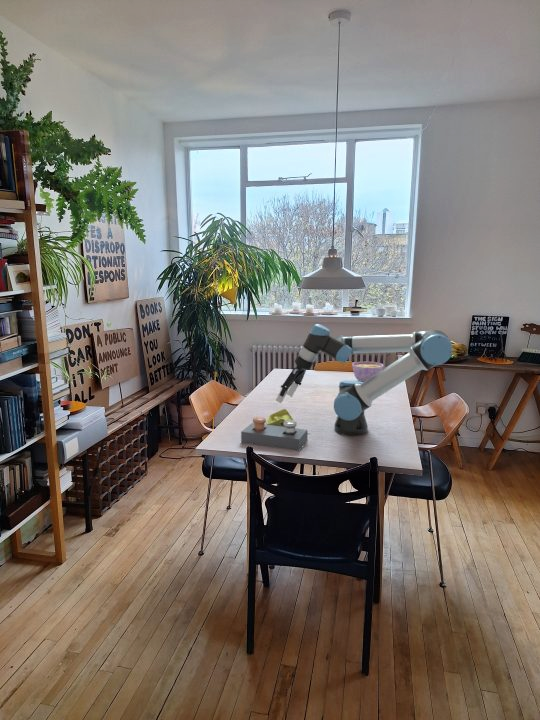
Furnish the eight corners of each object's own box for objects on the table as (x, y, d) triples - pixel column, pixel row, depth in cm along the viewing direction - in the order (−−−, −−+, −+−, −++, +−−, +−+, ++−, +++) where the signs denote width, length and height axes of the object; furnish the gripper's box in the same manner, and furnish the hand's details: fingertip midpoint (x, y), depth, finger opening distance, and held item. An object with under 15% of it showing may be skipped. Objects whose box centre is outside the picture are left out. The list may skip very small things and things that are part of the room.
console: (307, 440, 201) (307, 429, 200) (298, 450, 190) (299, 439, 189) (252, 433, 210) (252, 422, 209) (241, 442, 199) (241, 431, 198)
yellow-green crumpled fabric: (269, 415, 229) (287, 407, 227) (275, 428, 229) (294, 420, 228) (264, 425, 209) (284, 417, 208) (272, 440, 210) (291, 431, 208)
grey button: (298, 434, 199) (298, 421, 197) (294, 439, 194) (294, 425, 192) (285, 433, 201) (285, 420, 199) (281, 437, 196) (281, 424, 194)
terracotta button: (267, 430, 204) (267, 417, 202) (263, 434, 198) (262, 421, 197) (256, 429, 206) (255, 416, 204) (251, 433, 200) (250, 420, 199)
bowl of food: (388, 381, 303) (389, 364, 300) (373, 387, 288) (374, 369, 286) (361, 376, 316) (362, 360, 313) (345, 382, 301) (346, 365, 299)
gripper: (307, 350, 212) (286, 388, 218) (288, 356, 189) (266, 399, 195) (321, 358, 210) (300, 397, 216) (304, 366, 187) (280, 409, 193)
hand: (283, 398), depth 206 cm, fingers open, 13 cm apart
